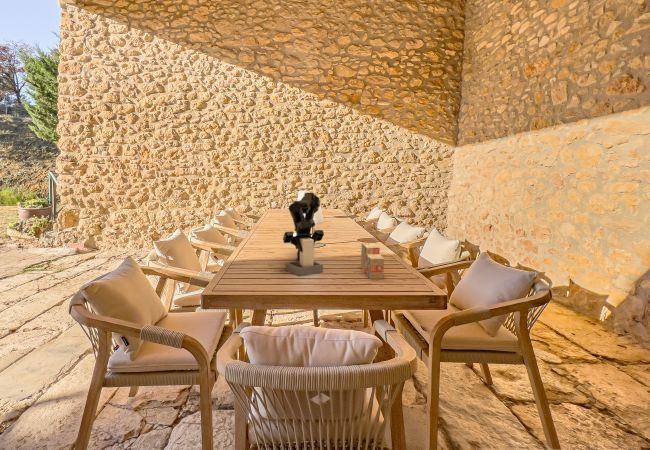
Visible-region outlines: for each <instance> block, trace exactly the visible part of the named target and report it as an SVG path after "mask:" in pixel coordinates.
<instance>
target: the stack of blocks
mask: <svg viewBox="0 0 650 450" xmlns="http://www.w3.org/2000/svg"><path fill="white" fill-rule="evenodd" d="M360 251H361V257H360V258H361V263H360V267H361V268H362V270H363V272H364V273H365V274H366V276H367V277H368V278H369V279H371V280H373V279H375V280H376V279H378V280H381V279H384V266H385V258H384V257H383V256H382V255H381V253H380V247H379V246H378V245H377V244H376V243H375V242H361V250H360Z"/></svg>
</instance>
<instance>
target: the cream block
mask: <svg viewBox="0 0 650 450" xmlns="http://www.w3.org/2000/svg"><path fill="white" fill-rule="evenodd" d="M300 243H301V246H302V250H303V252H301V251H300V265H302V266H303V267H305V266H313V264H314V262H315V261H314V252H315V251H314V250H315V243H314V240H313V239H311V238H303V239H300Z"/></svg>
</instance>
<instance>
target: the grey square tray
mask: <svg viewBox="0 0 650 450" xmlns="http://www.w3.org/2000/svg"><path fill="white" fill-rule="evenodd" d="M284 264H285V271H287V272H289V273H292V274H294V275H295V276H296V275H297V276H298V277H303V276H309V275H313V274H315V275H316V274H319V273H320V274H321V273H324V265H323V264H322V263H318V262H316V261H314V264H313V266H305V267H303V266H302V265H300V261H299V260H296V261H295V260H294V261H290V262H289V261H288V262H285V263H284Z"/></svg>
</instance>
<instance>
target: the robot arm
mask: <svg viewBox="0 0 650 450" xmlns="http://www.w3.org/2000/svg"><path fill="white" fill-rule="evenodd" d="M320 207H321V199H320V197H318V196H317V195H316V194H315V193H314V192H304V195H303V196H302V197H301V199H300V200H295V201H293V203H291V204H290V205H289V206H288V212H290V213H289V214H290V216H291V218H292V221H293V225H294V231H295V232H294V231H285V232H284V233H283V237H282V240H283V243H284V244H291V245H293V246H295V250H297V253H296V254H297V255H296V256H297V257H296V259H295V260H296V261H300V251H301V252H303V250H302V246H301V243H300V239H303V238H311V239H313V240H314V244H315V243H316V242H320V241H322V239H323V238H324V236H325V233H324V231H323V229H317V230H316V229H315V230H314V231H313V233H311V230H312V228H314V227H315V226H316V222H315V219H314V217H315V214H316V213H317V212H318V211H319V208H320Z"/></svg>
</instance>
